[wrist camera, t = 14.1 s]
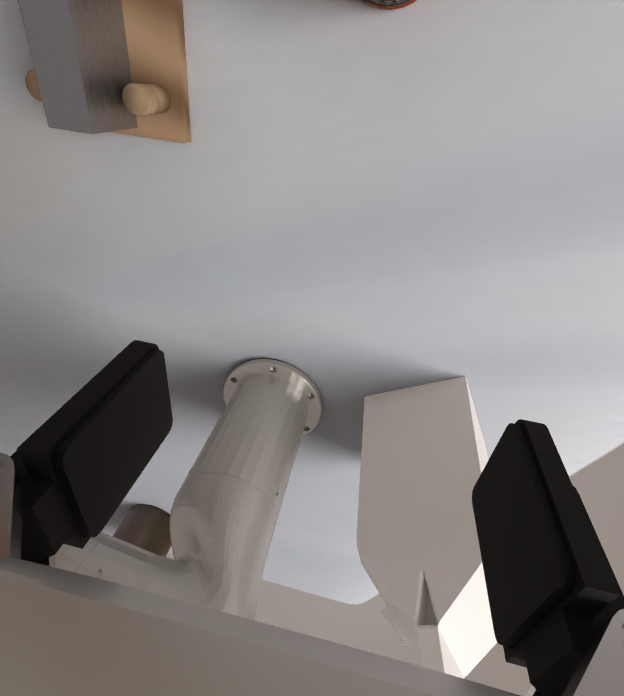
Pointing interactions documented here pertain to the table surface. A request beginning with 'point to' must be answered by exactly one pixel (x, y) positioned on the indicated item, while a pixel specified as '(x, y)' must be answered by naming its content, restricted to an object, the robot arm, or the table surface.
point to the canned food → (389, 3)
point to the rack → (152, 70)
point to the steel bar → (80, 62)
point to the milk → (426, 521)
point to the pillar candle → (146, 529)
